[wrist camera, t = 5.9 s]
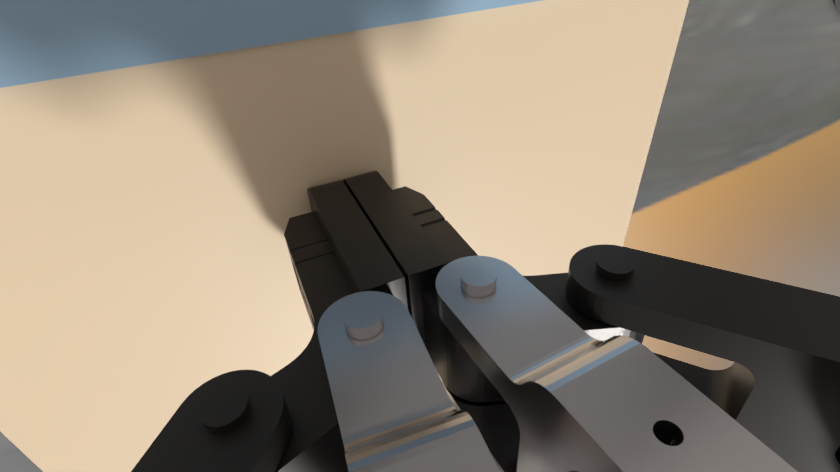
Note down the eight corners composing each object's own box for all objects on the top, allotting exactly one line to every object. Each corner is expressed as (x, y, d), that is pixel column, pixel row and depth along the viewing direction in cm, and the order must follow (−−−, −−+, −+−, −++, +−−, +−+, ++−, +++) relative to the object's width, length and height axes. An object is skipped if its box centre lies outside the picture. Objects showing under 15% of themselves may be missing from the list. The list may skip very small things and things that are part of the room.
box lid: (712, -221, 9) (755, -227, 9) (580, 339, 19) (595, 356, 18) (-582, -207, 5) (-710, -222, 4) (128, 523, 15) (126, 554, 14)
